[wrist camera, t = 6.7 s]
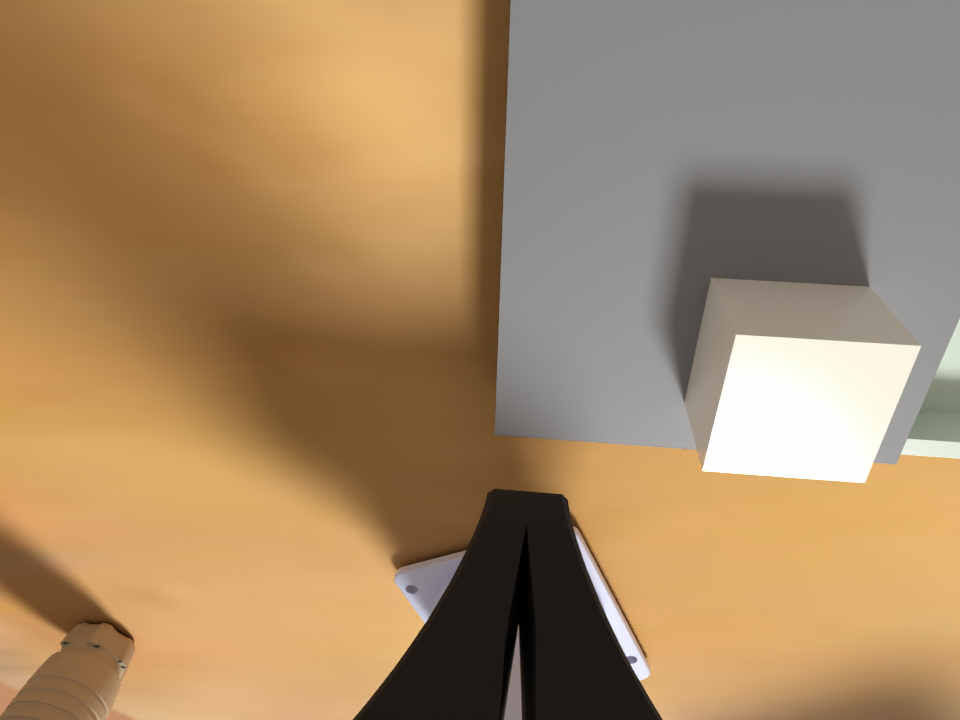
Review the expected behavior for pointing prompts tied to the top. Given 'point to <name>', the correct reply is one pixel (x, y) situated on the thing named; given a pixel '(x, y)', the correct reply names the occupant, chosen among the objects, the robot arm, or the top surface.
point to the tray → (940, 410)
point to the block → (795, 379)
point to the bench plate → (715, 192)
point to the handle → (76, 677)
